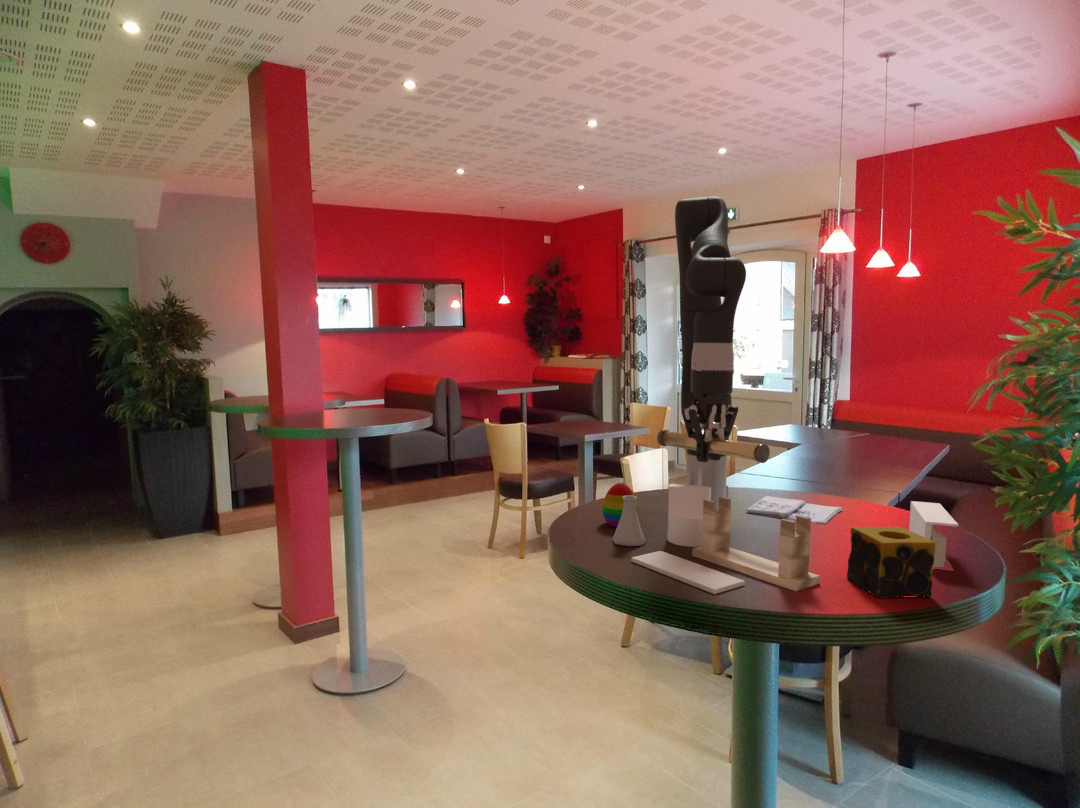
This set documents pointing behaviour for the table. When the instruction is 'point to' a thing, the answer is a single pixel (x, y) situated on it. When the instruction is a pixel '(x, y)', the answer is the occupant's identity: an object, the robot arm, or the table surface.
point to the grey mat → (688, 572)
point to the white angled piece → (931, 526)
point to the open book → (793, 509)
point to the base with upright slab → (686, 514)
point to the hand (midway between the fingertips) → (708, 460)
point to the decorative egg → (615, 503)
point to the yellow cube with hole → (891, 561)
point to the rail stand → (785, 573)
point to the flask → (629, 525)
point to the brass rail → (716, 446)
